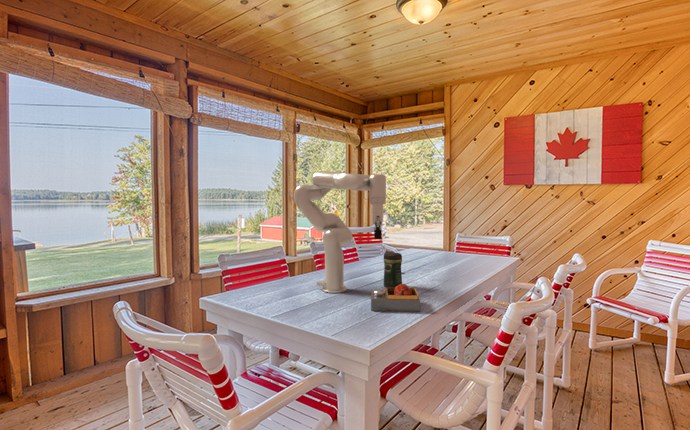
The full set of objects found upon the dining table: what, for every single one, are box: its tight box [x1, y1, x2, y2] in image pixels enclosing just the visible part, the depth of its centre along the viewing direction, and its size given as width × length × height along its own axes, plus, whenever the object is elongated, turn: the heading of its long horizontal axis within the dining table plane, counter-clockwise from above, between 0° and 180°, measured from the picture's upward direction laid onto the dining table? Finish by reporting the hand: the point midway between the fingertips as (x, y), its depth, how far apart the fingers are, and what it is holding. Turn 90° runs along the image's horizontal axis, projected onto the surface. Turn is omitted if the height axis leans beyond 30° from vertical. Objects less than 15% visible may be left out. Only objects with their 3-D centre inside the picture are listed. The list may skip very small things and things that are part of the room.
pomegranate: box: [394, 283, 412, 295], centre depth 147 cm, size 7×7×10 cm
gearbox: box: [370, 287, 421, 313], centre depth 150 cm, size 20×14×6 cm
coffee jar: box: [383, 251, 403, 288], centre depth 182 cm, size 10×8×19 cm
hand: (377, 237), depth 162 cm, fingers open, 9 cm apart
